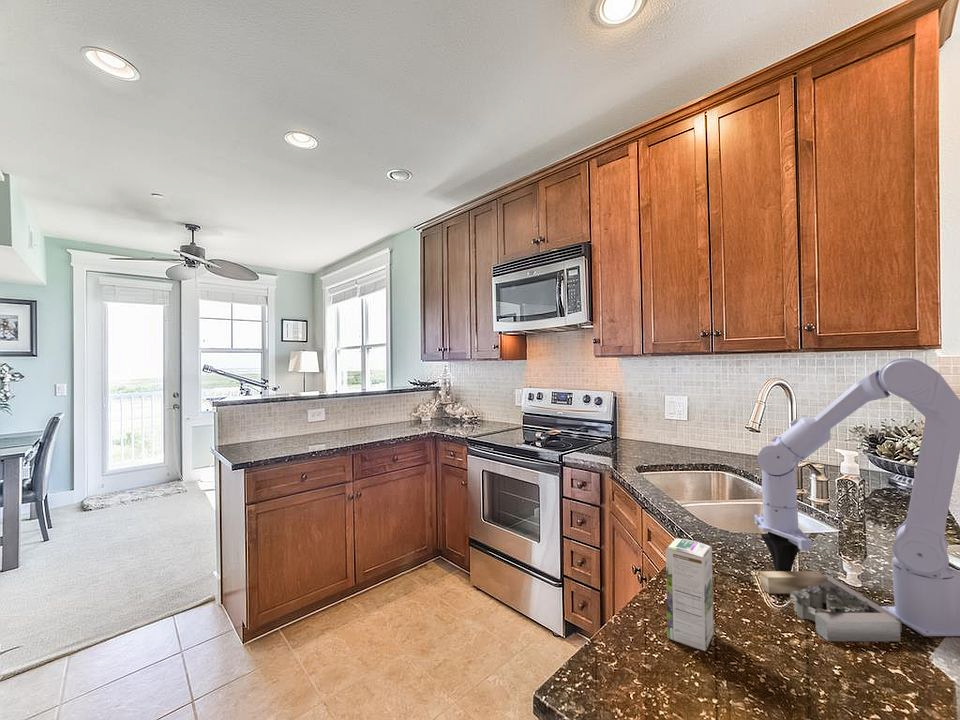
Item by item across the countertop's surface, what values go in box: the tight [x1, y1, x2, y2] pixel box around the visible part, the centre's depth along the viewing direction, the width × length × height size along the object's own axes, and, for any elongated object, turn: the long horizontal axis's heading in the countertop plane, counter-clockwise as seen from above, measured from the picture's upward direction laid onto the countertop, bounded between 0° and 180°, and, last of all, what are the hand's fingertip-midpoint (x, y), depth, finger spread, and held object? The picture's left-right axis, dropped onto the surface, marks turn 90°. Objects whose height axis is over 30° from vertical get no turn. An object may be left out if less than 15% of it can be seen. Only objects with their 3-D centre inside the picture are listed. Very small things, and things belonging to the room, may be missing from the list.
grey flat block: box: [814, 574, 903, 642], centre depth 76 cm, size 14×18×3 cm
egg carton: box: [789, 581, 869, 622], centre depth 74 cm, size 11×8×4 cm
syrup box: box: [665, 537, 715, 652], centre depth 69 cm, size 6×6×14 cm
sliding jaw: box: [759, 570, 828, 594], centre depth 82 cm, size 11×2×3 cm, turn 88°
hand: (783, 572), depth 85 cm, fingers closed
